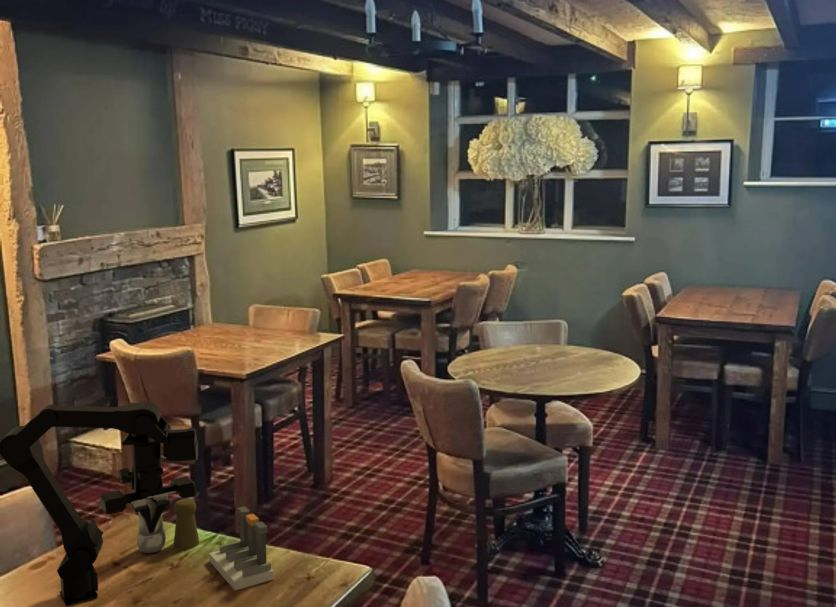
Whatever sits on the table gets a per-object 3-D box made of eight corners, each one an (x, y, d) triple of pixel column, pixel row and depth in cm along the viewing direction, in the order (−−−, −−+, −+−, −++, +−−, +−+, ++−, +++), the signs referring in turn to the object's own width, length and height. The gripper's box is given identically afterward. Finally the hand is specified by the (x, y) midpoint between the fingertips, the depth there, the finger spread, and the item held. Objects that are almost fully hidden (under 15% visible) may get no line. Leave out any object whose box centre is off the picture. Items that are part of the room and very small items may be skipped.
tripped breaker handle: (252, 560, 181) (251, 520, 180) (246, 555, 184) (245, 515, 183) (259, 558, 182) (258, 518, 181) (254, 553, 185) (253, 513, 184)
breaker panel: (234, 590, 173) (234, 575, 172) (209, 561, 186) (209, 547, 186) (273, 579, 178) (273, 564, 177) (246, 551, 191) (245, 537, 190)
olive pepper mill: (203, 538, 198) (201, 496, 196) (193, 549, 192) (192, 506, 190) (179, 537, 198) (177, 495, 197) (169, 548, 192) (167, 504, 191)
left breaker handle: (243, 552, 186) (242, 512, 184) (238, 547, 188) (237, 507, 187) (251, 550, 187) (250, 510, 185) (245, 545, 189) (244, 506, 188)
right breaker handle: (260, 569, 177) (259, 528, 176) (255, 564, 180) (254, 523, 178) (268, 567, 178) (267, 526, 177) (262, 562, 181) (261, 521, 179)
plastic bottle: (131, 554, 189) (127, 473, 186) (149, 542, 196) (145, 463, 193) (155, 558, 187) (151, 476, 184) (172, 545, 194) (168, 466, 191)
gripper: (179, 444, 180) (182, 510, 183) (92, 460, 170) (96, 529, 173) (195, 458, 171) (198, 527, 174) (104, 476, 161) (108, 549, 164)
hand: (150, 532), depth 171 cm, fingers closed
